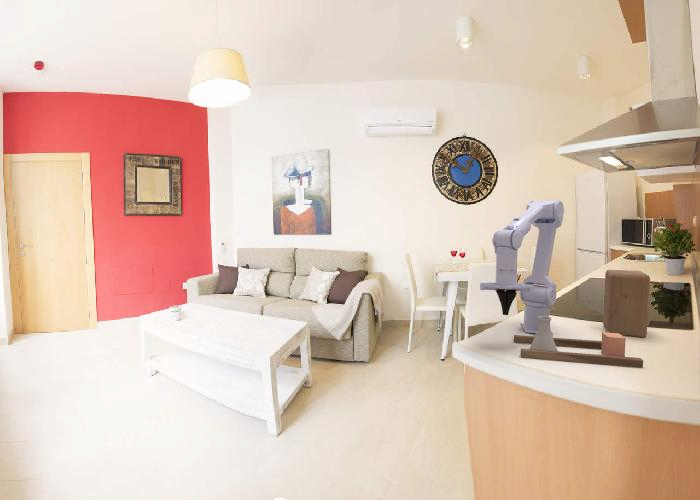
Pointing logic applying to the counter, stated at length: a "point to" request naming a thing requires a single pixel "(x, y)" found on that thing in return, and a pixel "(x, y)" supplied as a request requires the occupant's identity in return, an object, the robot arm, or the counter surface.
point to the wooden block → (626, 302)
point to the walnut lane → (576, 356)
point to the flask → (544, 336)
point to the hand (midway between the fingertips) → (505, 314)
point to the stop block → (613, 344)
